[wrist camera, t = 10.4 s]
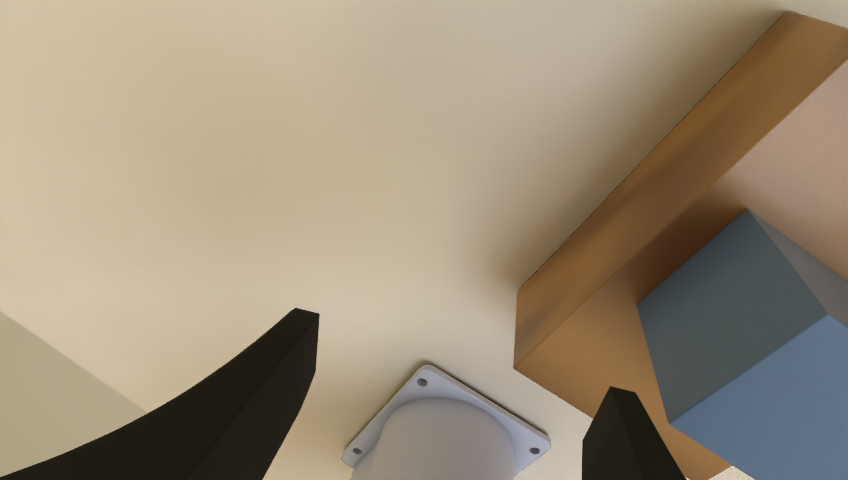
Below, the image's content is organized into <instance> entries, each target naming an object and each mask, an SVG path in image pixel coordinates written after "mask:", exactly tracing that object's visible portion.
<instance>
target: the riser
mask: <svg viewBox="0 0 848 480" xmlns="http://www.w3.org/2000/svg"><path fill="white" fill-rule="evenodd" d="M746 209H749V210H750V211H752V212H753V213H754V214H756V215H757V216H759V217H760V218H761V219H763V220H764V221H765V222H767V223H768V224H770V225H771V226H772V227H774V228H775V229H776V230H778V231H779V232H780V233H782V234H783V235H785V236H786V237H787V238H789V239H790V240H791V241H793V242H794V243H796V244H797V245H798V246H800V247H801V248H802V249H804V250H805V251H806V252H808V253H809V254H811V255H812V256H813V257H815V258H816V259H817V260H819V261H820V262H822V263H823V264H824V265H826V266H827V267H828V268H830V269H831V270H833V271H834V272H835V273H837V274H838V275H839V276H841V277H842V278H843V279H845V280H846V281H848V29H847V28H844V27H841V26H838V25H834V24H831V23H828V22H824V21H821V20H818V19H815V18H811V17H808V16H805V15H801V14H798V13H795V12H792V11H787V12H785V13H784V15H783V16H782V17H781V18H780V19H779V20H778V21H777V22H776V23H775V24H774V25H773V26H772V27H771V28H770V29H769V30H768V31H767V32H766V33H765V34H764V35H763V36H762V37H761V38H760V40H759V41H758V42H757V43H756V44H755V45H754V46H753V47H752V48H751V49H750V50H749V51H748V52H747V53H746V54H745V55H744V56H743V57H742V58H741V59H740V60H739V61H738V62H737V64H736V65H735V66H734V67H733V68H732V69H731V70H730V71H729V72H728V73H727V74H726V75H725V76H724V77H723V78H722V79H721V80H720V81H719V82H718V83H717V84H716V85H715V86H714V87H713V89H712V90H711V91H710V92H709V93H708V94H707V95H706V96H705V97H704V98H703V99H702V100H701V101H700V102H699V103H698V104H697V105H696V106H695V107H694V108H693V109H692V110H691V111H690V112H689V114H688V115H687V116H686V117H685V118H684V119H683V120H682V121H681V122H680V123H679V124H678V125H677V126H676V127H675V128H674V129H673V130H672V131H671V132H670V133H669V134H668V135H667V136H666V137H665V139H664V140H663V141H662V142H661V143H660V144H659V145H658V146H657V147H656V148H655V149H654V150H653V151H652V152H651V153H650V154H649V155H648V156H647V157H646V158H645V159H644V160H643V161H642V162H641V164H640V165H639V166H638V167H637V168H636V169H635V170H634V171H633V172H632V173H631V174H630V175H629V176H628V177H627V178H626V179H625V180H624V181H623V182H622V183H621V184H620V185H619V186H618V187H617V189H616V190H615V191H614V192H613V193H612V194H611V195H610V196H609V197H608V198H607V199H606V200H605V201H604V202H603V203H602V204H601V205H600V206H599V207H598V208H597V209H596V210H595V211H594V212H593V214H592V215H591V216H590V217H589V218H588V219H587V220H586V221H585V222H584V223H583V224H582V225H581V226H580V227H579V228H578V229H577V230H576V231H575V232H574V233H573V234H572V235H571V236H570V237H569V239H568V240H567V241H566V242H565V243H564V244H563V245H562V246H561V247H560V248H559V249H558V250H557V251H556V252H555V253H554V254H553V255H552V256H551V257H550V258H549V259H548V260H547V261H546V262H545V264H544V265H543V266H542V267H541V268H540V269H539V270H538V271H537V272H536V273H535V274H534V275H533V276H532V277H531V278H530V279H529V280H528V281H527V282H526V283H525V284H524V285H523V286H522V287H521V289H520V290H519V291H518V292H517V307H516V326H515V345H514V364H513V368H514V369H515V370H516V371H518V372H520V373H521V374H523V375H524V376H526V377H528V378H529V379H531V380H532V381H534V382H536V383H537V384H539V385H540V386H542V387H544V388H545V389H547V390H548V391H550V392H551V393H553V394H555V395H556V396H558V397H559V398H561V399H563V400H564V401H566V402H567V403H569V404H571V405H572V406H574V407H575V408H577V409H579V410H580V411H582V412H583V413H585V414H587V415H588V416H590V417H591V418H593V419H594V417H595V415H596V413H597V411H598V409H599V407H600V405H601V403H602V401H603V399H604V397H605V395H606V393H607V391H608V389H609V387H610V386H612V387H616V388H620V389H624V390H629V391H633V392H636V394H637V395H638V397H639V399H640V401H641V402H642V404H643V406H644V408H645V409H646V411H647V413H648V415H649V417H650V418H651V420H652V422H653V424H654V425H655V427H656V429H657V431H658V433H659V434H660V436H661V438H662V440H663V441H664V443H665V445H666V447H667V448H668V450H669V452H670V453H671V455H672V457H673V458H674V460H675V462H676V463H677V465H678V467H679V468H680V470H681V472H682V473H683V475H684V476H685V477H687V478H688V479H690V480H709V479H710V478H712V477H714V476H715V475H717V474H719V473H721V472H722V471H724V470H726V469H727V468H729V467H731V466H732V464H730V463H729V462H727V461H726V460H724V459H722V458H721V457H719V456H718V455H716V454H715V453H713V452H712V451H710V450H708V449H707V448H705V447H704V446H702V445H701V444H699V443H698V442H696V441H694V440H693V439H691V438H690V437H688V436H687V435H685V434H684V433H682V432H680V431H679V430H677V429H676V428H674V427H673V426H671V425H669V423H668V421H667V417H666V414H665V410H664V406H663V403H662V399H661V395H660V391H659V388H658V384H657V380H656V377H655V373H654V369H653V366H652V362H651V358H650V354H649V351H648V347H647V343H646V340H645V336H644V332H643V328H642V325H641V321H640V317H639V314H638V310H637V306H636V305H637V304H638V303H639V302H640V301H641V300H642V299H644V298H645V297H646V296H647V295H648V294H649V293H650V292H652V291H653V290H654V289H655V288H656V287H657V286H659V285H660V284H661V283H662V282H663V281H664V280H665V279H667V278H668V277H669V276H670V275H671V274H672V273H674V272H675V271H676V270H677V269H678V268H679V267H680V266H682V265H683V264H684V263H685V262H686V261H687V260H689V259H690V258H691V257H692V256H693V255H694V254H695V253H697V252H698V251H699V250H700V249H701V248H702V247H704V246H705V245H706V244H707V243H708V242H709V241H710V240H712V239H713V238H714V237H715V236H716V235H717V234H719V233H720V232H721V231H722V230H723V229H724V228H725V227H727V226H728V225H729V224H730V223H731V222H732V221H734V220H735V219H736V218H737V217H738V216H739V215H740V214H742V213H743V212H744V211H745V210H746Z"/></svg>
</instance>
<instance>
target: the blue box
mask: <svg viewBox="0 0 848 480" xmlns="http://www.w3.org/2000/svg"><path fill="white" fill-rule="evenodd" d="M636 306H637V310H638V314H639V317H640V321H641V325H642V328H643V332H644V336H645V340H646V343H647V347H648V351H649V354H650V358H651V362H652V366H653V369H654V373H655V377H656V380H657V384H658V388H659V391H660V395H661V399H662V403H663V406H664V410H665V414H666V417H667V421H668V423H669V425H671V426H673V427H674V428H676V429H677V430H679V431H680V432H682V433H684V434H685V435H687V436H688V437H690V438H691V439H693V440H694V441H696V442H698V443H699V444H701V445H702V446H704V447H705V448H707V449H708V450H710V451H712V452H713V453H715V454H716V455H718V456H719V457H721V458H722V459H724V460H726V461H727V462H729V463H730V464H732V465H733V466H735V467H736V468H738V469H740V470H741V471H743V472H744V473H746V474H747V475H749V476H751V477H752V478H754V479H755V480H848V281H846V280H845V279H843V278H842V277H841V276H839V275H838V274H837V273H835V272H834V271H833V270H831V269H830V268H828V267H827V266H826V265H824V264H823V263H822V262H820V261H819V260H817V259H816V258H815V257H813V256H812V255H811V254H809V253H808V252H806V251H805V250H804V249H802V248H801V247H800V246H798V245H797V244H796V243H794V242H793V241H791V240H790V239H789V238H787V237H786V236H785V235H783V234H782V233H780V232H779V231H778V230H776V229H775V228H774V227H772V226H771V225H770V224H768V223H767V222H765V221H764V220H763V219H761V218H760V217H759V216H757V215H756V214H754V213H753V212H752V211H750V210H749V209H746V210H745V211H744V212H743V213H742V214H740V215H739V216H738V217H737V218H736V219H735V220H734V221H732V222H731V223H730V224H729V225H728V226H727V227H725V228H724V229H723V230H722V231H721V232H720V233H719V234H717V235H716V236H715V237H714V238H713V239H712V240H710V241H709V242H708V243H707V244H706V245H705V246H704V247H702V248H701V249H700V250H699V251H698V252H697V253H695V254H694V255H693V256H692V257H691V258H690V259H689V260H687V261H686V262H685V263H684V264H683V265H682V266H680V267H679V268H678V269H677V270H676V271H675V272H674V273H672V274H671V275H670V276H669V277H668V278H667V279H665V280H664V281H663V282H662V283H661V284H660V285H659V286H657V287H656V288H655V289H654V290H653V291H652V292H650V293H649V294H648V295H647V296H646V297H645V298H644V299H642V300H641V301H640V302H639V303H638V304H637V305H636Z"/></svg>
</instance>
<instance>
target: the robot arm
mask: <svg viewBox="0 0 848 480" xmlns="http://www.w3.org/2000/svg"><path fill="white" fill-rule="evenodd" d="M318 328H319V314H318V313H314V312H310V311H306V310H302V309H298V308H295V309H293V310H291V311H290V312H289V313H288V314H287V315H286V316H285V317H283V318H282V319H281V320H280V321H279V322H278V323H277V324H275V325H274V326H273V327H272V328H271V329H270V330H268V331H267V332H266V333H265V334H264V335H262V336H261V337H260V338H259V339H257V340H256V341H255V342H254V343H252V344H251V345H250V346H249V347H247V348H246V349H245V350H243V351H242V352H241V353H240V354H238V355H237V356H236V357H234V358H233V359H232V360H230V361H229V362H228V363H226V364H225V365H224V366H222V367H221V368H219V369H218V370H216V371H215V372H214V373H212V374H211V375H209V376H208V377H206V378H205V379H204V380H202V381H201V382H199V383H198V384H196V385H195V386H193V387H192V388H190V389H188V390H187V391H185V392H184V393H182V394H181V395H179V396H177V397H176V398H174V399H172V400H171V401H169V402H167V403H165V404H164V405H162V406H160V407H159V408H157V409H155V410H153V411H151V412H149V413H148V414H146V415H144V416H142V417H140V418H138V419H136V420H135V421H133V422H131V423H129V424H127V425H125V426H123V427H122V428H119V429H117V430H115V431H113V432H111V433H109V434H107V435H104V436H102V437H100V438H98V439H95V440H93V441H91V442H89V443H87V444H84V445H82V446H80V447H78V448H75V449H73V450H71V451H69V452H66V453H64V454H62V455H59V456H56V457H54V458H51V459H49V460H46V461H43V462H41V463H38V464H35V465H33V466H30V467H27V468H24V469H22V470H19V471H16V472H13V473H11V474H8V475H5V476H2V477H0V480H262V479H263V477H264V476H265V474H266V472H267V470H268V468H269V466H270V465H271V463H272V461H273V459H274V457H275V455H276V454H277V452H278V450H279V448H280V446H281V444H282V443H283V441H284V439H285V437H286V435H287V433H288V432H289V430H290V428H291V426H292V424H293V422H294V420H295V419H296V417H297V415H298V413H299V411H300V409H301V407H302V404H303V402H304V400H305V397H306V395H307V392H308V390H309V387H310V385H311V382H312V379H313V377H314V374H315V371H316V356H317V342H318ZM420 379H425V380H426V381H422V380H420ZM533 447H536V448H533ZM550 447H551V440H550V438H549V437H548V436H547V435H545V434H543V433H542V432H540V431H539V430H537V429H535V428H534V427H532V426H530V425H529V424H527V423H526V422H524V421H522V420H521V419H519V418H517V417H516V416H514V415H513V414H511V413H509V412H508V411H506V410H504V409H503V408H501V407H499V406H498V405H496V404H495V403H493V402H491V401H490V400H488V399H486V398H485V397H483V396H482V395H480V394H478V393H477V392H475V391H473V390H472V389H470V388H469V387H467V386H465V385H464V384H462V383H460V382H459V381H457V380H455V379H454V378H452V377H451V376H449V375H447V374H446V373H444V372H442V371H441V370H439V369H438V368H436V367H434V366H432V365H423V366H421V367H420V368H419V369H418V370H417V371H416V373H415V374H414V375H413V376H412V377H411V378H410V379H409V380H408V381H407V382H406V383H405V385H404V386H403V387H402V388H401V389H400V390H399V391H398V392H397V393H396V394H395V395H394V397H393V398H392V399H391V400H390V401H389V402H388V403H387V404H386V405H385V406H384V407H383V408H382V410H381V411H380V412H379V413H378V414H377V415H376V416H375V417H374V418H373V419H372V420H371V422H370V423H369V424H368V425H367V426H366V427H365V428H364V429H363V430H362V431H361V432H360V433H359V435H358V436H357V437H356V438H355V439H354V440H353V441H352V442H351V443H350V444H349V445H348V447H347V448H346V449H345V450H344V451H343V453H342V456H341V459H342V461H343V462H344V463H345V464H347V465H349V466H351V467H352V468H354V470H353V473H352V476H351V479H350V480H514V476H515V475H517V474H518V473H519V472H521V471H522V470H523V469H524V468H526V467H527V466H528V465H530V464H531V463H532V462H534V461H535V460H536V459H537V458H539V457H540V456H541V455H543V454H544V453H545V452H547V451H548V450H549V449H550ZM582 480H686V478H685V476H684V475H683V473H682V472H681V470H680V468H679V467H678V465H677V463H676V462H675V460H674V458H673V457H672V455H671V453H670V452H669V450H668V448H667V447H666V445H665V443H664V441H663V440H662V438H661V436H660V434H659V433H658V431H657V429H656V427H655V425H654V424H653V422H652V420H651V418H650V417H649V415H648V413H647V411H646V409H645V408H644V406H643V404H642V402H641V401H640V399H639V397H638V395H637V394H636V392H633V391H629V390H624V389H620V388H616V387H612V386H610V387H609V389H608V391H607V393H606V395H605V397H604V399H603V401H602V403H601V405H600V407H599V409H598V411H597V413H596V415H595V417H594V419H593V421H592V423H591V425H590V427H589V429H588V431H587V433H586V435H585V437H584V439H583V448H582Z"/></svg>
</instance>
